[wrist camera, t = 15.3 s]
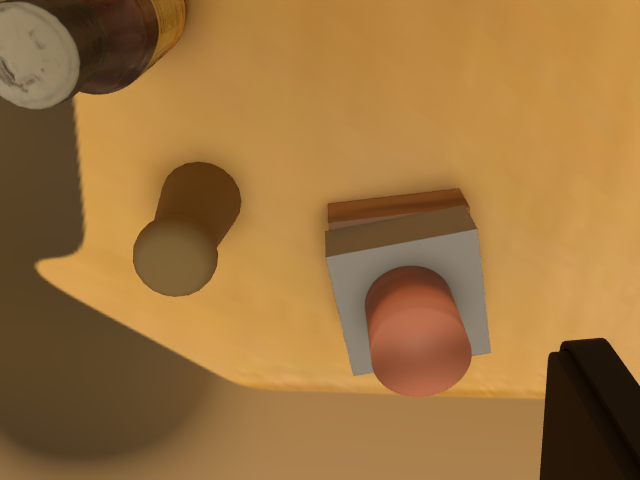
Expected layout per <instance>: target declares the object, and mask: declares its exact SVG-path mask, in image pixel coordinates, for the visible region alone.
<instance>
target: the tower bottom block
mask: <svg viewBox="0 0 640 480" xmlns="http://www.w3.org/2000/svg"><path fill="white" fill-rule="evenodd" d="M461 205H465V207H466V209H467V211H468V212H469V214H470V207H469V205H468V203H467V201H466V199H465V198H464V196H463V194H462V192H461V191H460V189H450V190H442V191H433V192H424V193H416V194H407V195H399V196H390V197H382V198H373V199H365V200H356V201H348V202H339V203H330V204H328V219H329V230H335V229H340V228H346V227H351V226H356V225H362V224H367V223H372V222H377V221H383V220H388V219H393V218H398V217H404V216H409V215H414V214H419V213H425V212H430V211H435V210H440V209H446V208H451V207H456V206H461ZM343 335H344V334H343Z"/></svg>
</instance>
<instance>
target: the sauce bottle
mask: <svg viewBox="0 0 640 480" xmlns="http://www.w3.org/2000/svg"><path fill="white" fill-rule="evenodd" d="M185 17H186V5H185V1H184V0H6V1H4V2H0V96H1V97H2V98H4V99H5V100H7V101H9V102H11V103H12V104H15V105H17V106H21V107H25V108H29V109H33V110H36V109H46V108H50V107H53V106H56V105H58V104H60V103H62V102H64V101H67V100H68V99H70V98H71V97H73V96H74V95H75V94H77V93H78V92H79V91H80V92H83V93H88V94H109V93H113V92H116V91H119V90H121V89H123V88H125V87H126V86H128V85H130V84H131V83H132V82H134V81H135V80H136V79H137V78H138V77H140V76H141V75H142V74H143V73H144V72H145V71H147V70H148V69H149V68H150V67H151V66H153V65H154V64H155V63H156V62H157V61H158V60H159V59H160V58H161V57H163V56H164V55H165V54H166V53H167V52H168V51H169V50H170V49H171V48H172V47H173V46H174V45H175V44H176V43H177V41H178V40H179V38H180V37H181V35H182V32H183V29H184V25H185Z"/></svg>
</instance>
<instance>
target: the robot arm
mask: <svg viewBox="0 0 640 480" xmlns="http://www.w3.org/2000/svg"><path fill="white" fill-rule="evenodd" d="M540 480H640V386H639V384H638V383H637V382H636V380H635V379H634V377H633V376H632V374H631V373H630V372H629V370H628V369H627V367H626V366H625V365H624V363H623V362H622V360H621V359H620V358H619V356H618V355H617V353H616V352H615V351H614V349H613V348H612V346H611V345H610V343H609V342H608V341H607V340H606V339H604V338H594V339H582V340H571V341H564V342H562V344H561V346H560V351H559V352H551V353H550V354H549V357H548V367H547V382H546V396H545V410H544V426H543V439H542V454H541V468H540Z"/></svg>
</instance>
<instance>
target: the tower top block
mask: <svg viewBox="0 0 640 480" xmlns="http://www.w3.org/2000/svg"><path fill="white" fill-rule="evenodd" d="M325 245H326V260H327V265H328V269H329V273H330V278H331V282H332V286H333V291H334V295H335V299H336V303H337V308H338V312H339V316H340V321H341V325H342V329H343V334H344V338H345V342H346V347H347V351H348V355H349V359H350V364H351V368H352V372H353V376H357V375H363V374H369V373H374V371H373V368H372V364H371V355H370V347H369V339H368V330H367V322H366V313H365V299H366V295H367V292H368V290H369V288H370V287H371V285H372V284H373V282H374V281H375V280H376V279H377V278H379V277H380V276H381V275H382V274H384V273H386V272H387V271H389V270H392V269H394V268H397V267H402V266H421V267H425V268H428V269H430V270H433V271H434V272H436V273H438V274H439V275H440V276H441V277H442V278H443V279H444V280H445V281H446V282H447V284H448V286H449V287H450V290H451V293H452V295H453V298H454V301H455V303H456V306H457V309H458V312H459V314H460V317H461V320H462V322H463V325H464V328H465V330H466V333H467V336H468V339H469V341H470V344H471V349H472V356H476V355H482V354H487V353H491V350H490V340H489V331H488V322H487V312H486V303H485V294H484V284H483V275H482V266H481V256H480V247H479V237H478V229H477V227H476V225H475V223H474V222H473V220H472V218H471V216H470V214H469V212H468V211H467V209H466V207H465V205H461V206H456V207H451V208H446V209H440V210H435V211H430V212H425V213H419V214H414V215H409V216H404V217H398V218H393V219H388V220H383V221H377V222H372V223H367V224H362V225H356V226H351V227H346V228H340V229H335V230H330V231H325Z"/></svg>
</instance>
